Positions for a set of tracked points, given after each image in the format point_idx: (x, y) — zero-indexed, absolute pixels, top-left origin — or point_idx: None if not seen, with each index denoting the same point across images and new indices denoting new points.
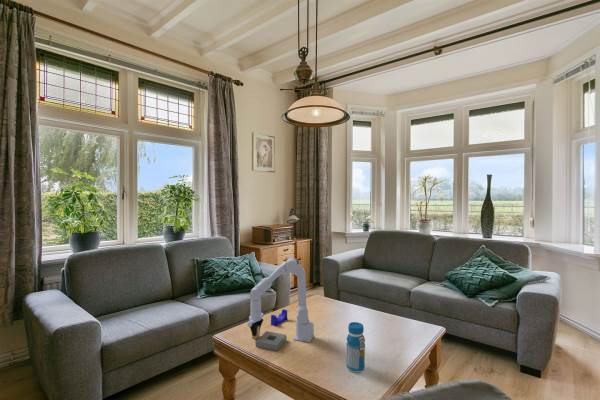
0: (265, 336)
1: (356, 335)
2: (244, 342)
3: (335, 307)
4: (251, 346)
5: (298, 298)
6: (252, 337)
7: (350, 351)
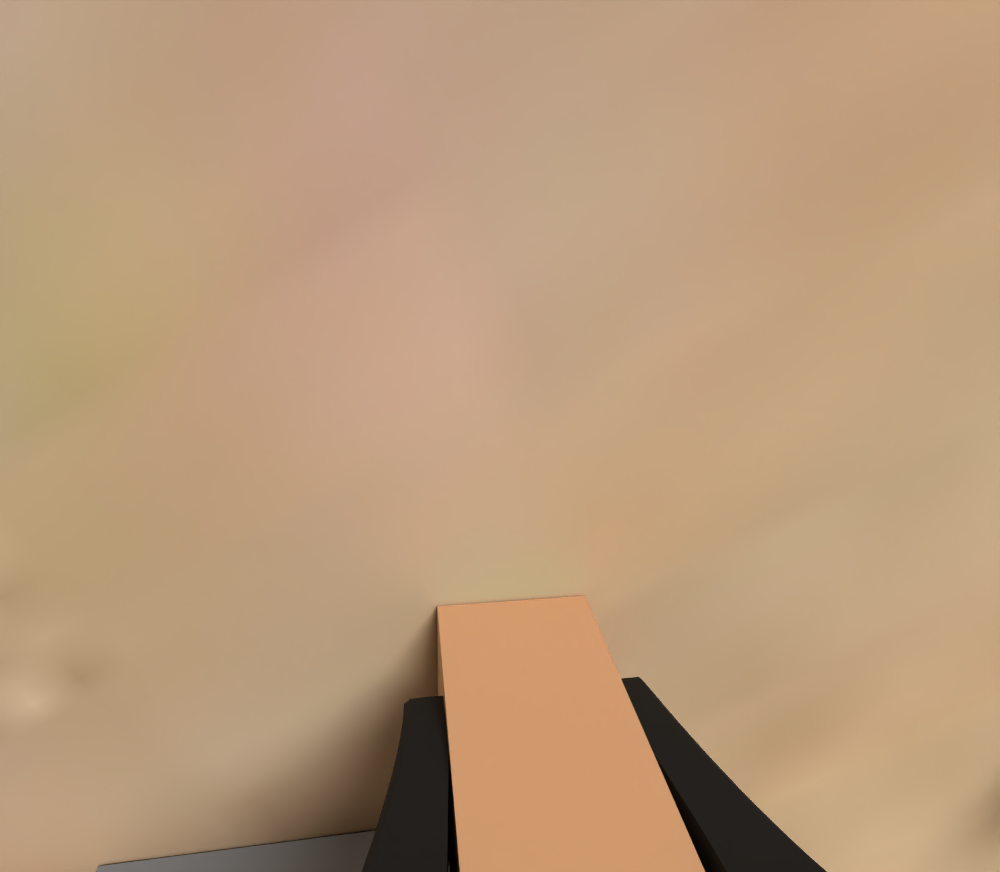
0: None
1: None
2: (102, 568)
3: None
4: (42, 799)
5: None
6: (438, 627)
7: None
